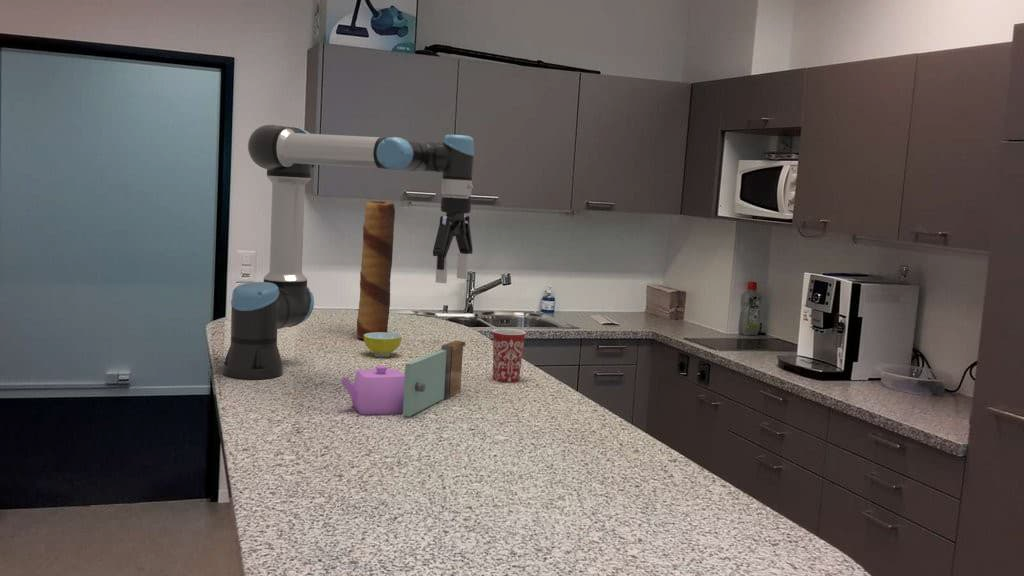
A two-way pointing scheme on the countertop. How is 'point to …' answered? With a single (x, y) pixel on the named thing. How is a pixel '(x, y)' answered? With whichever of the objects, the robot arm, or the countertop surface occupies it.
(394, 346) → the bowl
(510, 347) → the mug
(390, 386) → the teapot
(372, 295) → the wafer roll
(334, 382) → the countertop surface
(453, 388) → the doorframe
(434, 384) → the door
